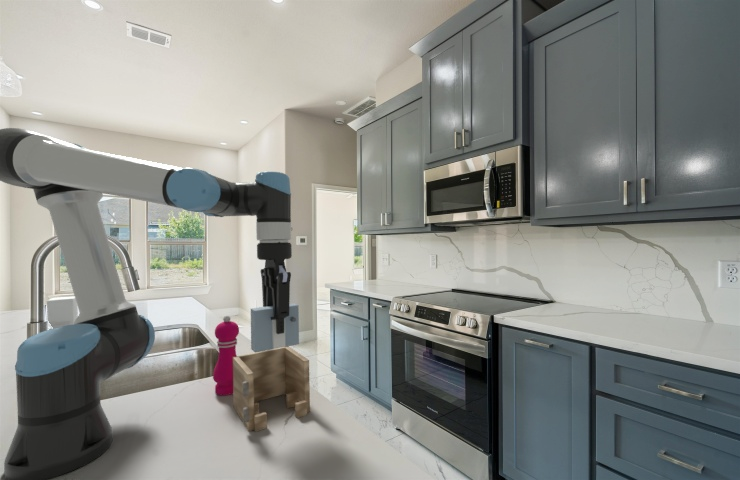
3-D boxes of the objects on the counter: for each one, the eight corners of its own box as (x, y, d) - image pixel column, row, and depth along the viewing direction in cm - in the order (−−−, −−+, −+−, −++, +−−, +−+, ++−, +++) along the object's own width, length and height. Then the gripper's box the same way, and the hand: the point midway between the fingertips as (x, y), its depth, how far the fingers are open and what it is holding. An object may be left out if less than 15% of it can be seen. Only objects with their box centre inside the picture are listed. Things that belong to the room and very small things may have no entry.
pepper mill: (232, 397, 88) (230, 319, 88) (207, 395, 90) (205, 318, 90) (247, 385, 95) (246, 313, 95) (224, 383, 97) (223, 312, 97)
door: (256, 353, 73) (255, 311, 73) (251, 349, 77) (250, 308, 77) (300, 345, 79) (299, 305, 79) (293, 341, 82) (293, 303, 82)
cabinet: (245, 434, 71) (244, 376, 71) (229, 407, 83) (228, 357, 83) (311, 413, 80) (310, 361, 80) (289, 391, 91) (288, 346, 91)
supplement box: (78, 327, 164) (78, 295, 163) (74, 331, 156) (73, 298, 156) (53, 329, 159) (52, 297, 159) (47, 334, 151) (46, 300, 151)
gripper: (304, 241, 74) (306, 351, 74) (278, 241, 87) (279, 334, 87) (269, 242, 69) (271, 358, 69) (247, 242, 83) (249, 340, 83)
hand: (276, 345), depth 78 cm, fingers closed on door, 3 cm apart
